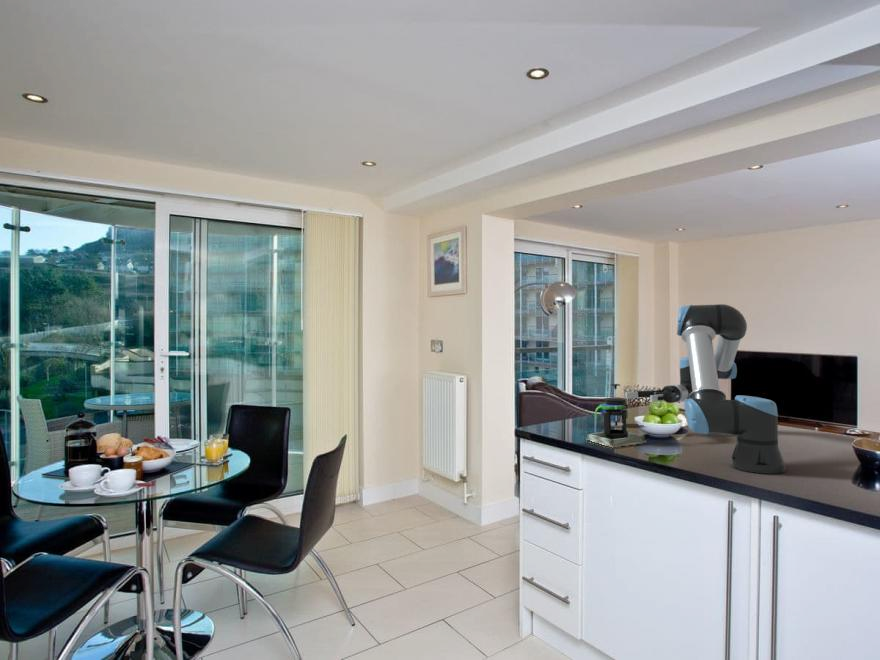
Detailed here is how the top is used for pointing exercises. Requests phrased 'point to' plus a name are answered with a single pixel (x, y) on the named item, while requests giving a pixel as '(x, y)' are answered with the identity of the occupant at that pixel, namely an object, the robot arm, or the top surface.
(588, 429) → the top surface
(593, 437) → the tray
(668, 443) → the top surface
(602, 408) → the snack cup
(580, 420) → the top surface
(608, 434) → the french press
